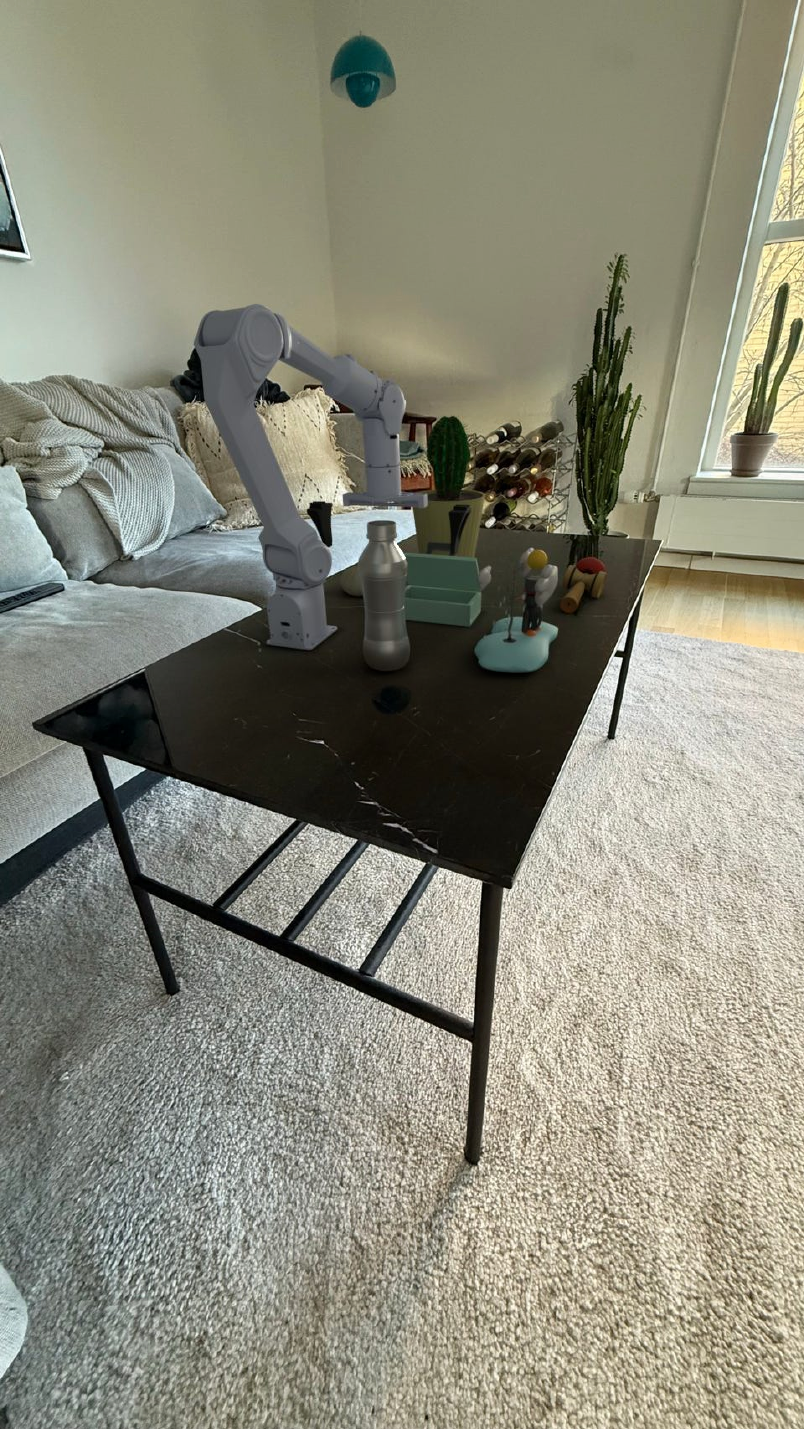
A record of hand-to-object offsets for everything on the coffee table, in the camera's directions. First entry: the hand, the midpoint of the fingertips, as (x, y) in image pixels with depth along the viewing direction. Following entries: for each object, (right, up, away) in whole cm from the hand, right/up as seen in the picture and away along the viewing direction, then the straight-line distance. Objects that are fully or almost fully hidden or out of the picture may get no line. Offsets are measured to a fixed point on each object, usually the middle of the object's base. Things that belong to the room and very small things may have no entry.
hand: (387, 550), depth 103 cm
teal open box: (+9, -11, 0) cm, 14 cm away
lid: (+9, -5, -3) cm, 10 cm away
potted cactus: (+12, +4, +27) cm, 30 cm away
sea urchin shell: (-5, -5, +13) cm, 14 cm away
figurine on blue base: (+20, -19, -14) cm, 31 cm away
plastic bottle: (0, -22, -18) cm, 28 cm away
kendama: (+35, -7, +7) cm, 37 cm away
